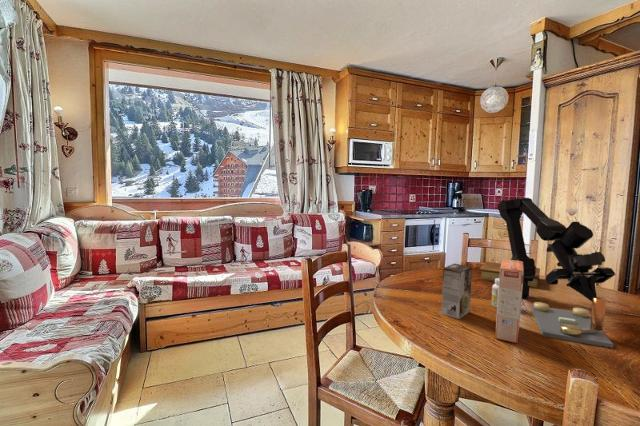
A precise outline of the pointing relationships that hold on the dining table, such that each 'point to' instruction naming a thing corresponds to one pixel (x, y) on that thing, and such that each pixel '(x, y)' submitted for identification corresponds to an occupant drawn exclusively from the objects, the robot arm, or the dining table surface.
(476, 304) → the dining table surface
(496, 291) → the supplement bottle
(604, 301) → the screw handle
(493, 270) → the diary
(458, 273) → the coffee box
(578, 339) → the base
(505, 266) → the cracker box
